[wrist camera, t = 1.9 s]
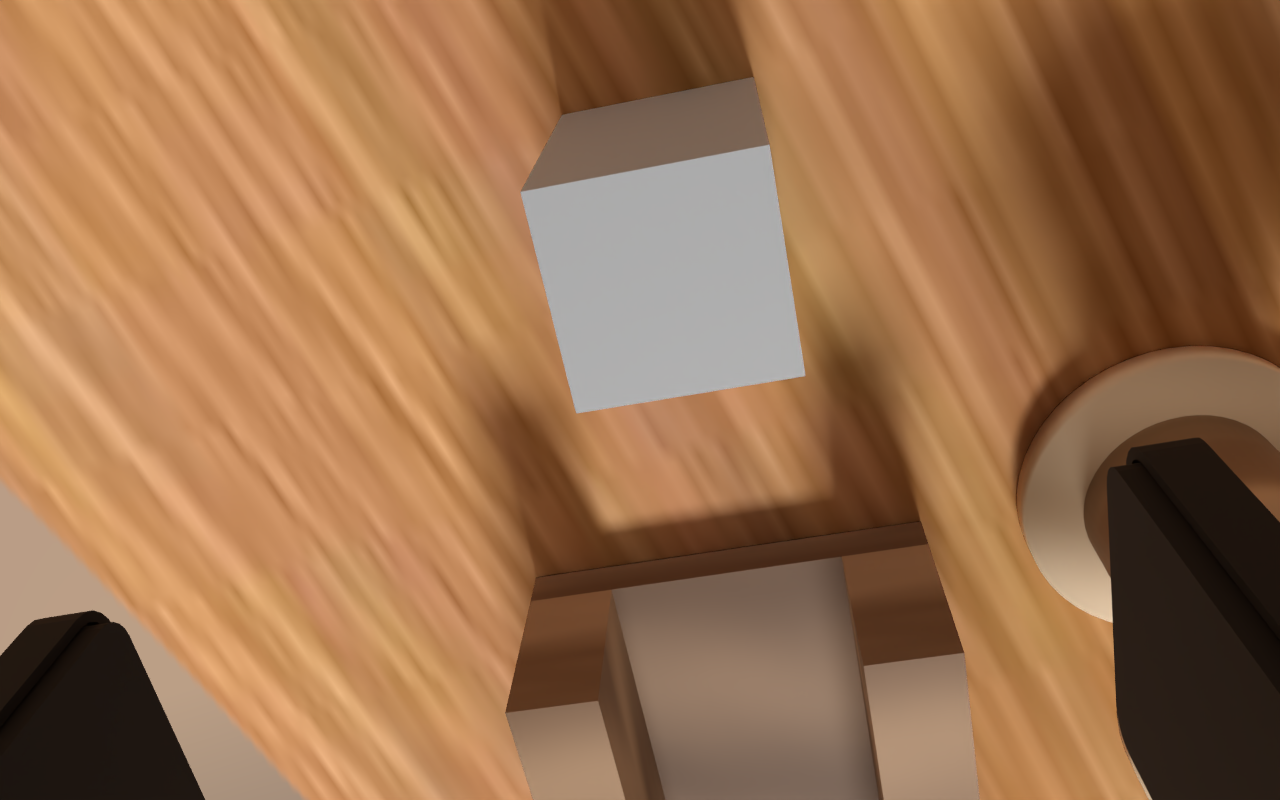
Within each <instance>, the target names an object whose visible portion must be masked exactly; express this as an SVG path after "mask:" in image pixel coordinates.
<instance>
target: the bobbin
mask: <svg viewBox="0 0 1280 800" xmlns="http://www.w3.org/2000/svg"><path fill="white" fill-rule="evenodd" d="M1189 438H1201V439H1202V440H1204V441H1205V442H1206V443H1207V444H1208V445H1209V446H1210V447H1211V448H1212V449H1213V450H1214V451H1215V453H1216V454H1217V455H1218V456H1219V457H1220V458H1221V459H1222V460H1223V461H1224V462H1225V463H1226V464H1227V465H1228V467H1229V468H1230V469H1231V470H1232V471H1233V472H1234V473H1235V474H1236V475H1237V476H1238V477H1239V478H1240V480H1241V481H1242V482H1243V483H1244V484H1245V485H1246V486H1247V487H1248V488H1249V489H1250V490H1251V491H1252V493H1253V494H1254V495H1255V496H1256V497H1257V498H1258V499H1259V500H1260V501H1261V502H1262V503H1263V504H1264V506H1265V507H1266V508H1267V509H1268V510H1269V511H1270V512H1271V513H1272V514H1273V515H1274V516H1275V517H1276V519H1277V520H1278V521H1279V522H1280V368H1279V367H1278V366H1276V365H1274V364H1273V363H1271V362H1269V361H1267V360H1264V359H1262V358H1260V357H1257V356H1255V355H1253V354H1249V353H1246V352H1242V351H1238V350H1235V349H1229V348H1222V347H1214V346H1185V347H1175V348H1167V349H1163V350H1158V351H1154V352H1149V353H1146V354H1143V355H1140V356H1137V357H1134V358H1131V359H1128V360H1125V361H1123V362H1121V363H1119V364H1117V365H1114V366H1112V367H1110V368H1108V369H1106V370H1104V371H1103V372H1101V373H1099V374H1098V375H1096V376H1094V377H1093V378H1091V379H1089V380H1088V381H1086V382H1085V383H1084V384H1082V385H1081V386H1080V387H1079V388H1077V389H1076V390H1075V391H1073V392H1072V393H1071V394H1070V395H1069V396H1068V397H1067V398H1065V399H1064V400H1063V401H1062V402H1061V403H1060V404H1059V405H1058V406H1057V407H1056V408H1055V409H1054V411H1053V412H1052V413H1051V414H1050V415H1049V417H1048V418H1047V419H1046V420H1045V421H1044V423H1043V424H1042V426H1041V427H1040V429H1039V430H1038V432H1037V434H1036V435H1035V437H1034V438H1033V440H1032V442H1031V444H1030V446H1029V449H1028V451H1027V453H1026V455H1025V458H1024V461H1023V464H1022V467H1021V471H1020V474H1019V480H1018V487H1017V511H1018V518H1019V524H1020V527H1021V530H1022V533H1023V536H1024V539H1025V541H1026V543H1027V545H1028V547H1029V549H1030V552H1031V554H1032V556H1033V558H1034V560H1035V562H1036V564H1037V566H1038V567H1039V569H1040V571H1041V573H1042V574H1043V576H1044V577H1045V578H1046V580H1047V581H1048V582H1049V584H1050V585H1051V586H1052V587H1053V588H1054V589H1055V590H1056V591H1057V592H1058V593H1059V594H1060V595H1061V596H1062V597H1064V598H1065V599H1066V600H1068V601H1069V602H1070V603H1072V604H1073V605H1074V606H1076V607H1078V608H1079V609H1081V610H1083V611H1085V612H1087V613H1089V614H1090V615H1093V616H1095V617H1098V618H1100V619H1103V620H1106V621H1108V622H1112V623H1113V617H1112V594H1111V572H1110V549H1109V527H1108V505H1107V474H1108V470H1109V469H1110V467H1115V466H1122V465H1126V459H1127V455H1128V452H1129V450H1130V449H1131V447H1138V446H1144V445H1150V444H1157V443H1163V442H1170V441H1176V440H1182V439H1189ZM1117 718H1118V716H1117ZM1118 726H1119V721H1118ZM1119 733H1120V736H1121V740H1122V743H1123V746H1124V749H1125V752H1126V754H1127V756H1128V758H1129V760H1130V762H1131V764H1132V767H1133V769H1134V771H1135V773H1136V775H1137V777H1138V779H1139V781H1140V783H1141V785H1142V787H1143V789H1144V791H1145V793H1146V795H1147V797H1148V799H1149V800H1152V798H1151V796H1150V794H1149V793H1148V791H1147V789H1146V787H1145V785H1144V783H1143V781H1142V779H1141V777H1140V775H1139V773H1138V771H1137V769H1136V767H1135V765H1134V763H1133V761H1132V759H1131V757H1130V755H1129V753H1128V750H1127V748H1126V746H1125V743H1124V740H1123V737H1122V734H1121V730H1120V726H1119Z"/></svg>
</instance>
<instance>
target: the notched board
mask: <svg viewBox="0 0 1280 800" xmlns="http://www.w3.org/2000/svg"><path fill="white" fill-rule="evenodd" d="M505 714H506V717H507V720H508V723H509V726H510V729H511V732H512V735H513V739H514V742H515V745H516V748H517V751H518V754H519V757H520V760H521V763H522V767H523V770H524V773H525V776H526V779H527V782H528V785H529V788H530V792H531V795H532V798H533V800H980V798H979V788H978V779H977V769H976V760H975V750H974V741H973V731H972V722H971V712H970V703H969V694H968V684H967V675H966V665H965V656H964V651H963V648H962V645H961V642H960V639H959V636H958V633H957V630H956V627H955V623H954V620H953V617H952V614H951V611H950V608H949V605H948V602H947V599H946V596H945V593H944V590H943V587H942V584H941V581H940V578H939V575H938V572H937V569H936V566H935V563H934V560H933V557H932V554H931V551H930V548H929V545H928V542H927V539H926V536H925V533H924V530H923V527H922V524H921V521H920V522H913V523H907V524H900V525H893V526H886V527H879V528H872V529H866V530H859V531H852V532H845V533H838V534H832V535H825V536H818V537H811V538H804V539H797V540H791V541H784V542H777V543H770V544H763V545H756V546H750V547H743V548H736V549H729V550H722V551H715V552H709V553H702V554H695V555H688V556H681V557H674V558H668V559H661V560H654V561H647V562H640V563H633V564H627V565H620V566H613V567H606V568H599V569H592V570H586V571H579V572H572V573H565V574H558V575H551V576H545V577H538V578H536V581H535V585H534V589H533V594H532V598H531V603H530V607H529V611H528V616H527V620H526V624H525V629H524V633H523V638H522V642H521V646H520V651H519V655H518V660H517V664H516V668H515V673H514V677H513V681H512V686H511V690H510V695H509V699H508V703H507V708H506V712H505Z"/></svg>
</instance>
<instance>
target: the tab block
mask: <svg viewBox="0 0 1280 800" xmlns="http://www.w3.org/2000/svg"><path fill="white" fill-rule="evenodd" d="M521 196H522V200H523V204H524V208H525V212H526V216H527V220H528V224H529V228H530V232H531V236H532V240H533V244H534V248H535V252H536V256H537V260H538V264H539V268H540V272H541V276H542V279H543V283H544V287H545V291H546V295H547V299H548V303H549V307H550V311H551V315H552V319H553V323H554V327H555V331H556V335H557V339H558V343H559V347H560V351H561V355H562V359H563V363H564V367H565V371H566V375H567V379H568V383H569V387H570V391H571V395H572V399H573V402H574V406H575V410H576V413H582V412H588V411H594V410H600V409H607V408H613V407H619V406H625V405H631V404H637V403H643V402H650V401H656V400H662V399H668V398H674V397H680V396H686V395H693V394H699V393H705V392H711V391H717V390H723V389H729V388H735V387H742V386H748V385H754V384H760V383H766V382H772V381H778V380H785V379H791V378H797V377H803V376H805V370H804V363H803V357H802V350H801V344H800V338H799V331H798V325H797V318H796V312H795V306H794V299H793V293H792V286H791V280H790V273H789V267H788V261H787V254H786V248H785V241H784V235H783V229H782V222H781V216H780V209H779V203H778V197H777V190H776V184H775V177H774V171H773V165H772V158H771V152H770V145H769V141H768V136H767V132H766V128H765V123H764V119H763V115H762V110H761V106H760V102H759V97H758V93H757V89H756V84H755V80H754V77H750V78H745V79H740V80H735V81H730V82H725V83H720V84H715V85H710V86H705V87H700V88H695V89H690V90H685V91H680V92H675V93H670V94H665V95H660V96H654V97H649V98H644V99H639V100H634V101H629V102H624V103H619V104H614V105H609V106H604V107H599V108H594V109H589V110H584V111H579V112H574V113H569V114H564V115H562V116H561V117H560V119H559V121H558V123H557V125H556V127H555V129H554V130H553V132H552V134H551V136H550V138H549V140H548V142H547V143H546V145H545V147H544V149H543V151H542V153H541V155H540V157H539V158H538V160H537V162H536V164H535V166H534V168H533V170H532V171H531V173H530V175H529V177H528V179H527V181H526V183H525V184H524V186H523V188H522V190H521Z"/></svg>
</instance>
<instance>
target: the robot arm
mask: <svg viewBox="0 0 1280 800" xmlns="http://www.w3.org/2000/svg"><path fill="white" fill-rule="evenodd" d="M1107 505H1108V527H1109V549H1110V572H1111V594H1112V617H1113V639H1114V662H1115V684H1116V706H1117V716H1118V721H1119V726H1120V730H1121V734H1122V737H1123V740H1124V743H1125V746H1126V748H1127V750H1128V753H1129V755H1130V757H1131V759H1132V761H1133V763H1134V765H1135V767H1136V769H1137V771H1138V773H1139V775H1140V777H1141V779H1142V781H1143V783H1144V785H1145V787H1146V789H1147V791H1148V793H1149V794H1150V796H1151V798H1152V800H1280V522H1279V521H1278V520H1277V519H1276V517H1275V516H1274V515H1273V514H1272V513H1271V512H1270V511H1269V510H1268V509H1267V508H1266V507H1265V506H1264V504H1263V503H1262V502H1261V501H1260V500H1259V499H1258V498H1257V497H1256V496H1255V495H1254V494H1253V493H1252V491H1251V490H1250V489H1249V488H1248V487H1247V486H1246V485H1245V484H1244V483H1243V482H1242V481H1241V480H1240V478H1239V477H1238V476H1237V475H1236V474H1235V473H1234V472H1233V471H1232V470H1231V469H1230V468H1229V467H1228V465H1227V464H1226V463H1225V462H1224V461H1223V460H1222V459H1221V458H1220V457H1219V456H1218V455H1217V454H1216V453H1215V451H1214V450H1213V449H1212V448H1211V447H1210V446H1209V445H1208V444H1207V443H1206V442H1205V441H1204V440H1202V439H1201V438H1189V439H1182V440H1176V441H1170V442H1163V443H1157V444H1150V445H1144V446H1138V447H1131V449H1130V450H1129V452H1128V455H1127V459H1126V465H1122V466H1115V467H1110V469H1109V470H1108V474H1107ZM0 800H205V798H204V796H203V794H202V792H201V790H200V788H199V785H198V783H197V781H196V779H195V777H194V774H193V773H192V770H191V768H190V766H189V764H188V762H187V759H186V757H185V755H184V753H183V751H182V749H181V746H180V744H179V742H178V740H177V738H176V736H175V733H174V731H173V729H172V727H171V725H170V723H169V720H168V718H167V716H166V714H165V712H164V710H163V708H162V705H161V703H160V701H159V699H158V697H157V694H156V692H155V690H154V688H153V686H152V684H151V681H150V679H149V677H148V675H147V673H146V671H145V668H144V666H143V664H142V662H141V660H140V658H139V655H138V653H137V651H136V649H135V647H134V645H133V643H132V640H131V638H130V636H129V634H128V633H127V631H126V630H125V628H124V627H123V626H121V625H120V624H118V623H115V622H110V621H109V619H108V618H107V617H106V616H104V615H103V614H102V613H100V612H96V611H87V612H80V613H74V614H68V615H62V616H56V617H49V618H43V619H39V620H34V621H33V622H32V623H30V624H29V625H28V626H27V627H26V628H25V629H24V630H23V631H22V632H21V633H20V634H19V636H18V637H17V638H16V639H15V640H14V641H13V642H12V644H10V646H9V647H8V648H7V649H6V650H5V651H4V652H3V653H2V655H1V656H0Z"/></svg>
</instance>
